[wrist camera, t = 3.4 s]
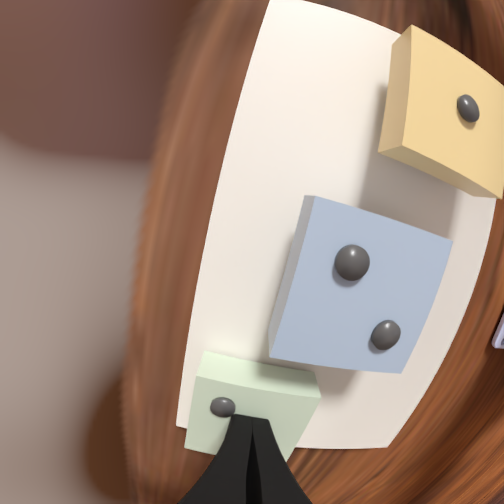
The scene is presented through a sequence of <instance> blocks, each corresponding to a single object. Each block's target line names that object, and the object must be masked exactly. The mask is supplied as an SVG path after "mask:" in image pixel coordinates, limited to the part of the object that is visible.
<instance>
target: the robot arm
mask: <svg viewBox="0 0 504 504" xmlns="http://www.w3.org/2000/svg"><path fill="white" fill-rule="evenodd" d="M492 346H494V347H495V348H502V349H504V313H503V316H502V318H501V321H500V323H499V325H498V328H497V330H496V332H495V335H494V337H493V339H492ZM177 504H312V502H311V501H310V500H309V499H308V497H307V496H306V495H305V493H304V492H303V490H302V489H301V487H300V486H299V484H298V483H297V481H296V479H295V478H294V476H293V474H292V473H291V471H290V469H289V467H288V465H287V463H286V461H285V459H284V457H283V455H282V453H281V451H280V449H279V446H278V444H277V441H276V439H275V436H274V434H273V431H272V428H271V425H270V421H269V420H268V419H264V418H258V417H251V416H246V415H240V414H233V415H232V416H231V419H230V422H229V425H228V429H227V432H226V435H225V438H224V441H223V443H222V445H221V447H220V448H219V450H218V452H217V454H216V456H215V457H214V459H213V460H212V462H211V463H210V465H209V466H208V468H207V469H206V471H205V472H204V474H203V475H202V476H201V478H200V479H199V480H198V481H197V483H196V484H195V485H194V486H193V487H192V489H191V490H190V491H189V492H188V493H187V494H186V495H185V496H184V497H183V498H182V499H181V500H180V501H179V502H178V503H177Z"/></svg>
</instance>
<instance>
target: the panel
mask: <svg viewBox="0 0 504 504" xmlns="http://www.w3.org/2000/svg"><path fill="white" fill-rule="evenodd" d="M400 36H401V35H400V34H398V33H396V32H394V31H392V30H390V29H387V28H385V27H383V26H380V25H378V24H375V23H373V22H370V21H368V20H365V19H363V18H360V17H357V16H354V15H351V14H348V13H345V12H342V11H339V10H336V9H333V8H329V7H326V6H322V5H319V4H315V3H311V2H307V1H303V0H270V2H269V5H268V8H267V11H266V14H265V17H264V20H263V23H262V26H261V29H260V32H259V35H258V38H257V41H256V45H255V48H254V51H253V54H252V58H251V61H250V64H249V68H248V71H247V75H246V78H245V81H244V85H243V89H242V92H241V96H240V99H239V103H238V107H237V110H236V114H235V118H234V121H233V125H232V129H231V133H230V137H229V141H228V145H227V149H226V153H225V157H224V161H223V165H222V169H221V173H220V178H219V182H218V186H217V191H216V195H215V199H214V204H213V208H212V213H211V218H210V222H209V227H208V232H207V237H206V242H205V246H204V251H203V256H202V262H201V267H200V272H199V277H198V283H197V288H196V294H195V299H194V305H193V311H192V316H191V322H190V328H189V335H188V341H187V347H186V354H185V361H184V367H183V374H182V382H181V389H180V397H179V405H178V413H177V421H176V426H179V427H183V428H187V427H188V421H189V415H190V408H191V402H192V396H193V391H194V385H195V379H196V374H197V371H198V368H199V365H200V363H201V360H202V357H203V354H204V351H209V352H213V353H217V354H221V355H225V356H230V357H234V358H239V359H243V360H248V361H253V362H258V363H263V364H268V365H274V366H279V367H285V368H291V369H298V370H304V371H311V372H314V373H315V376H316V380H317V383H318V387H319V391H320V394H321V400H320V402H319V404H318V406H317V408H316V410H315V412H314V414H313V416H312V418H311V419H310V421H309V423H308V425H307V427H306V429H305V431H304V432H303V434H302V436H301V438H300V439H299V441H298V443H297V445H296V446H295V447H302V448H322V449H362V448H381V447H388V445H389V444H390V443H391V442H392V440H393V439H394V438H395V436H396V435H397V434H398V432H399V431H400V430H401V428H402V427H403V425H404V424H405V422H406V421H407V420H408V418H409V417H410V415H411V414H412V412H413V411H414V409H415V408H416V406H417V405H418V403H419V401H420V400H421V398H422V397H423V395H424V393H425V392H426V390H427V388H428V387H429V385H430V383H431V382H432V380H433V378H434V376H435V374H436V373H437V371H438V369H439V367H440V365H441V363H442V361H443V359H444V357H445V355H446V353H447V351H448V349H449V347H450V345H451V343H452V341H453V339H454V337H455V334H456V332H457V330H458V328H459V325H460V323H461V321H462V318H463V316H464V313H465V311H466V308H467V306H468V303H469V300H470V298H471V295H472V292H473V289H474V286H475V283H476V280H477V277H478V274H479V271H480V268H481V264H482V261H483V257H484V254H485V250H486V246H487V242H488V238H489V234H490V229H491V225H492V220H493V215H494V209H495V203H496V198H486V197H474V196H471V195H469V194H468V193H466V192H464V191H462V190H460V189H458V188H456V187H454V186H452V185H450V184H448V183H446V182H444V181H442V180H440V179H438V178H436V177H434V176H432V175H430V174H427V173H425V172H423V171H421V170H419V169H416V168H414V167H412V166H409V165H407V164H405V163H402V162H400V161H397V160H395V159H393V158H390V157H387V156H385V155H382V154H380V153H378V148H379V142H380V137H381V131H382V125H383V119H384V112H385V105H386V97H387V90H388V81H389V71H390V61H391V48H392V44H393V43H394V42H395V41H396V40H397V39H398V38H399V37H400ZM304 195H310V196H318V197H322V198H325V199H329V200H332V201H336V202H339V203H342V204H346V205H349V206H352V207H356V208H359V209H362V210H365V211H369V212H372V213H375V214H378V215H381V216H384V217H387V218H390V219H393V220H396V221H399V222H402V223H405V224H408V225H411V226H413V227H416V228H419V229H422V230H424V231H427V232H430V233H433V234H435V235H438V236H441V237H443V238H446V239H448V240H451V241H453V244H452V247H451V251H450V254H449V258H448V261H447V265H446V268H445V271H444V274H443V277H442V280H441V283H440V286H439V289H438V292H437V294H436V297H435V300H434V302H433V305H432V308H431V310H430V313H429V315H428V318H427V320H426V322H425V325H424V327H423V329H422V332H421V334H420V336H419V338H418V341H417V343H416V345H415V347H414V349H413V351H412V353H411V355H410V357H409V359H408V361H407V363H406V365H405V367H404V369H403V371H402V373H401V374H398V373H383V372H371V371H361V370H351V369H342V368H334V367H327V366H319V365H313V364H306V363H300V362H294V361H288V360H282V359H276V358H271V357H269V340H268V328H269V325H270V321H271V318H272V314H273V311H274V308H275V304H276V301H277V297H278V294H279V290H280V286H281V283H282V279H283V276H284V272H285V268H286V265H287V261H288V257H289V253H290V250H291V246H292V242H293V238H294V234H295V231H296V227H297V223H298V219H299V215H300V211H301V207H302V203H303V199H304Z"/></svg>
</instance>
